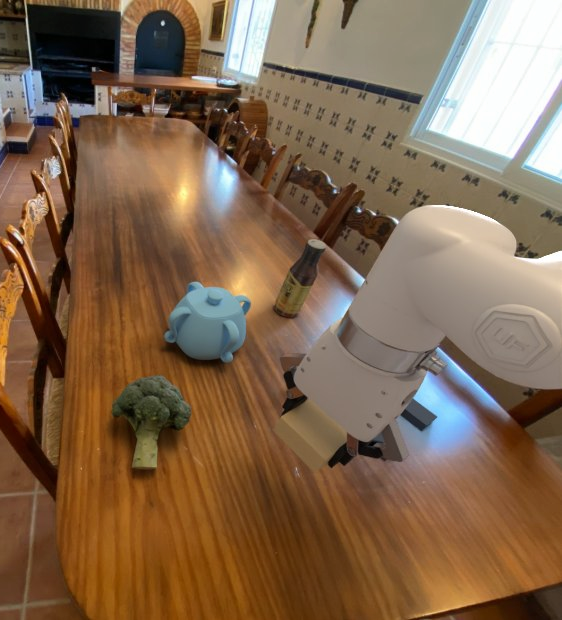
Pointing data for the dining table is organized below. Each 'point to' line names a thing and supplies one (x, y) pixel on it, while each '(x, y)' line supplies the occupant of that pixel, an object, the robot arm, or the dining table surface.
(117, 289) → the dining table surface
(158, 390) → the vegetable
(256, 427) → the dining table surface
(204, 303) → the decorative pot
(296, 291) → the sauce bottle
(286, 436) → the pad
